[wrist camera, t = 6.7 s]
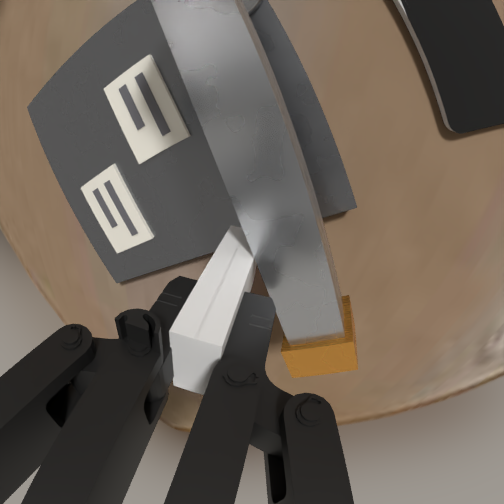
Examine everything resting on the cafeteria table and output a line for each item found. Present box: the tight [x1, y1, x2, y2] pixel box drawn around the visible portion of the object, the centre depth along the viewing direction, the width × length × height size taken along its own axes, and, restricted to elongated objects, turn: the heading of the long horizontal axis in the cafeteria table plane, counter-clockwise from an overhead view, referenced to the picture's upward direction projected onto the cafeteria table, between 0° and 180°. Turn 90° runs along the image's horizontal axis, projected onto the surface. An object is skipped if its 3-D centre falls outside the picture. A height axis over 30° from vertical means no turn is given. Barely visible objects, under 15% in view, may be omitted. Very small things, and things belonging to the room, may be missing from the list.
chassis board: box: [27, 0, 357, 283], centre depth 15 cm, size 18×20×6 cm
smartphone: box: [393, 0, 504, 133], centre depth 9 cm, size 8×1×15 cm
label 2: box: [81, 164, 154, 253], centre depth 19 cm, size 6×4×1 cm, turn 24°
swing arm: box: [151, 0, 358, 378], centre depth 10 cm, size 22×4×3 cm, turn 20°
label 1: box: [104, 54, 191, 164], centre depth 15 cm, size 6×4×1 cm, turn 24°
